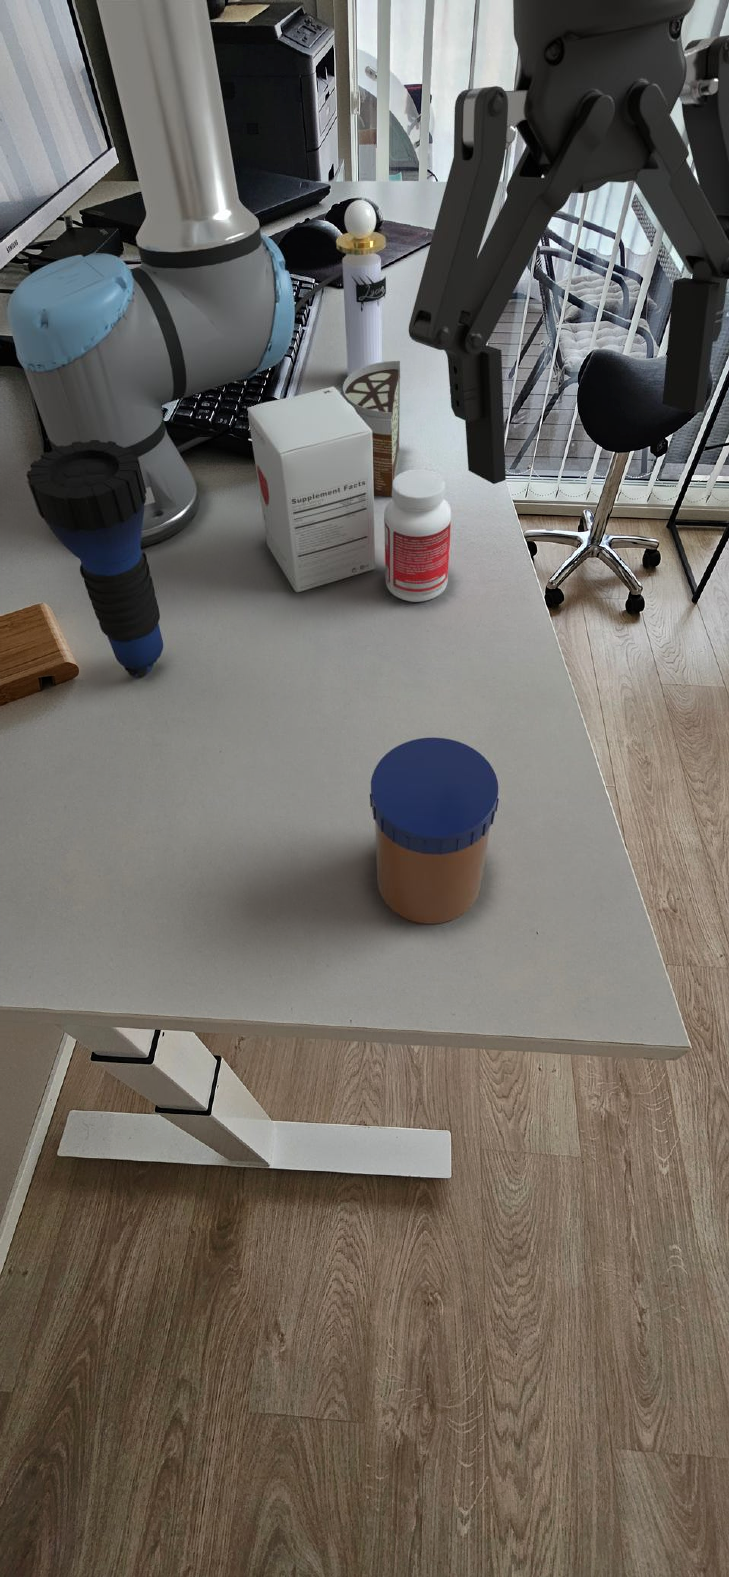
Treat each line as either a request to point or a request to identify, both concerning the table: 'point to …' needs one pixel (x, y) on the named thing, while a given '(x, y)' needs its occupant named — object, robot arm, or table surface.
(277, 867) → the table surface
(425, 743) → the jar lid
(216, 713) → the table surface
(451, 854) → the jar
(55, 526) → the flashlight
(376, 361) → the perfume bottle
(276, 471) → the rectangular carton
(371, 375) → the food container
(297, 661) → the table surface
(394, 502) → the pill bottle
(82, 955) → the table surface
